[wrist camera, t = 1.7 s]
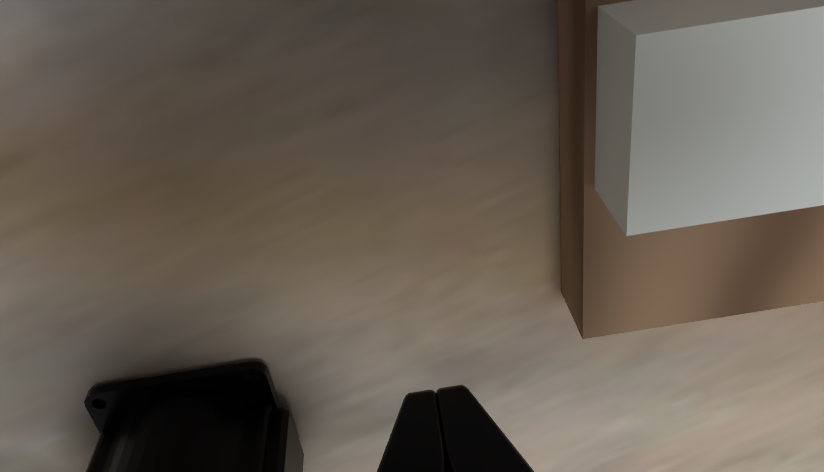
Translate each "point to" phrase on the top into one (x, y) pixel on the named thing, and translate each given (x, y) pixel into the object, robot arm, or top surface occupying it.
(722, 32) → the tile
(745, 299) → the flat brown platform
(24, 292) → the top surface
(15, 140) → the top surface
